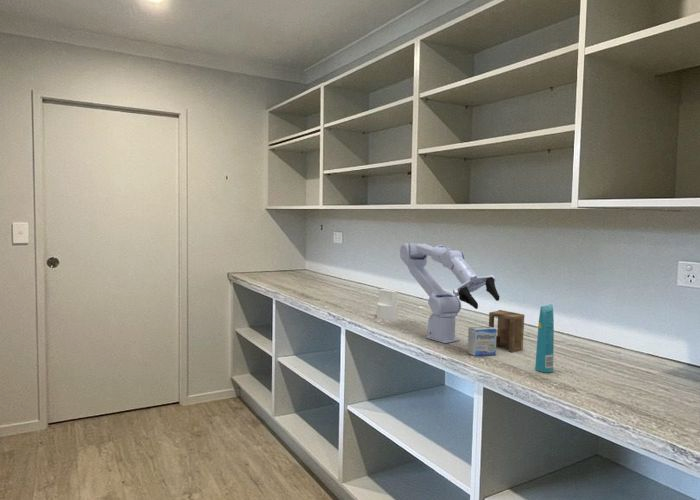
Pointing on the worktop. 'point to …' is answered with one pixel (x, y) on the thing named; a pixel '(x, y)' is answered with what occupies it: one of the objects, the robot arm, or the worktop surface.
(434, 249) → the robot arm
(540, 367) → the tube
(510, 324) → the walnut bay
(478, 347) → the medicine box
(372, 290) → the worktop surface
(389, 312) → the base with upright slab
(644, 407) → the worktop surface
